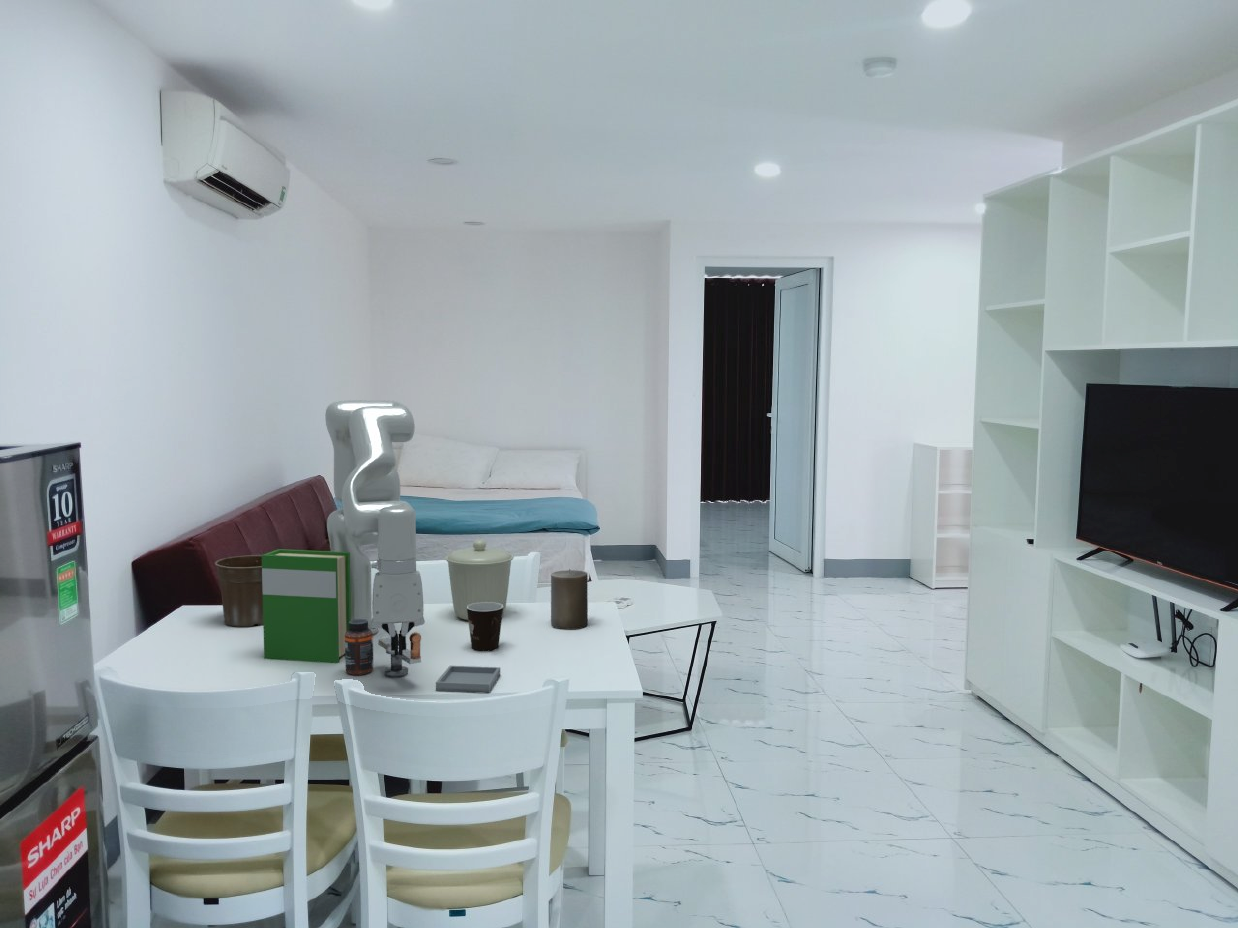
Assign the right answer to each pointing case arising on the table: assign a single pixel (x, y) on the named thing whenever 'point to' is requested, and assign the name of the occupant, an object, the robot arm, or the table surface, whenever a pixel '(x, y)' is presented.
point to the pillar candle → (569, 599)
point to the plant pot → (241, 590)
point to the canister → (478, 576)
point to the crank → (407, 655)
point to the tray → (468, 679)
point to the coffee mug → (485, 625)
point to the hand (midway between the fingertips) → (398, 653)
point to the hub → (396, 668)
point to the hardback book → (306, 604)
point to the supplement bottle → (359, 648)
